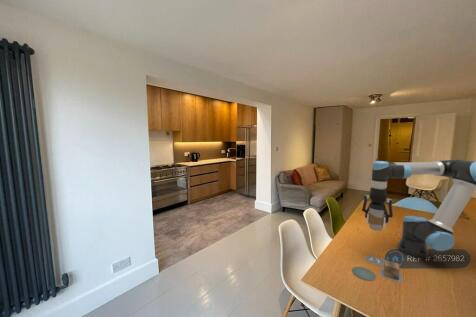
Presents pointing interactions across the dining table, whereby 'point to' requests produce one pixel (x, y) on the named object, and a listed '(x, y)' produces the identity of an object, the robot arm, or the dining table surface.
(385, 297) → the dining table surface
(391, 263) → the brown cube
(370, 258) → the tile
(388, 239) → the dining table surface
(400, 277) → the code tile
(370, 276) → the coaster
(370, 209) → the coffee cup
